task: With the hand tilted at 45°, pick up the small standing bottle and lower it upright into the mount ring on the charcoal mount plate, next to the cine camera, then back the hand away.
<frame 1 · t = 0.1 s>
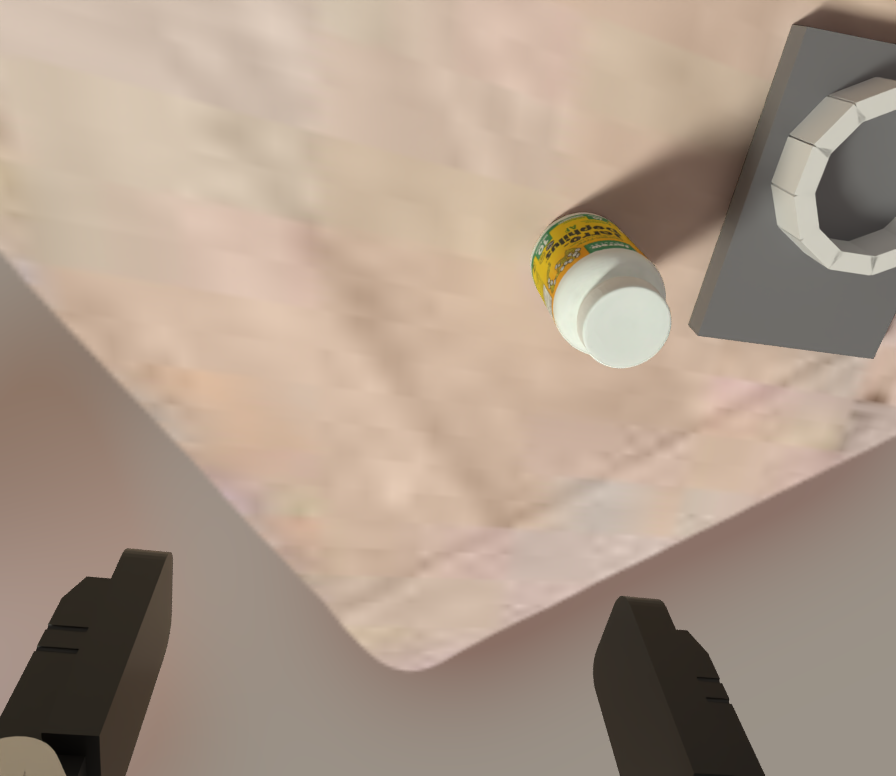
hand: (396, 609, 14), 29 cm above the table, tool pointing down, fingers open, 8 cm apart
mount plate: (844, 166, 41), on the table
supplement bottle: (576, 256, 42), on the table
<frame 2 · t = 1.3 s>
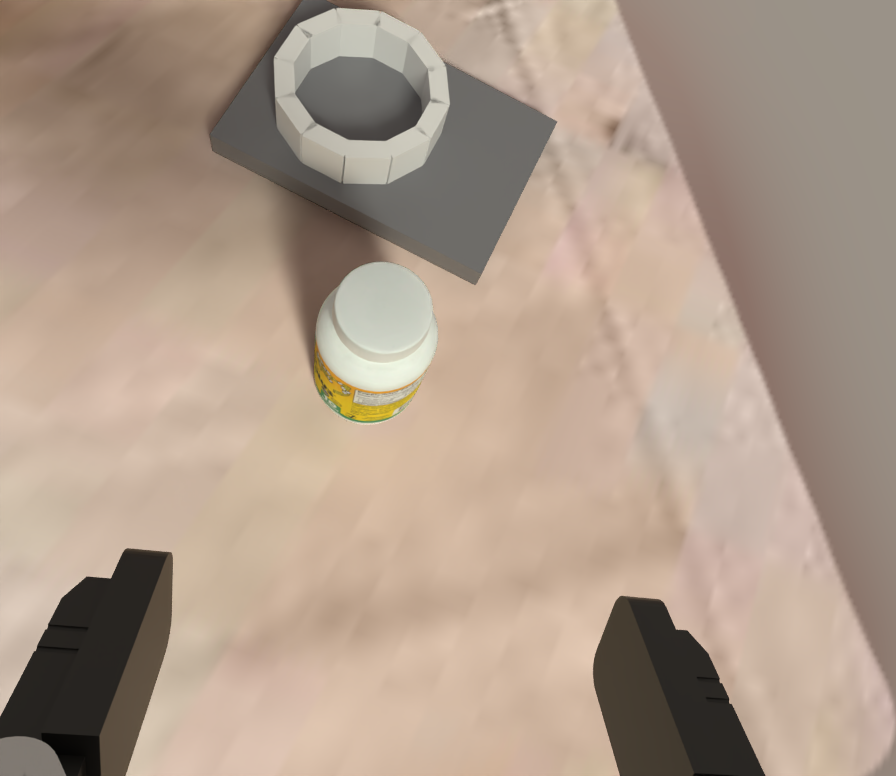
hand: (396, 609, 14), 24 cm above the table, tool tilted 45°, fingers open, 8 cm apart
mount plate: (357, 127, 43), on the table
supplement bottle: (365, 377, 40), on the table
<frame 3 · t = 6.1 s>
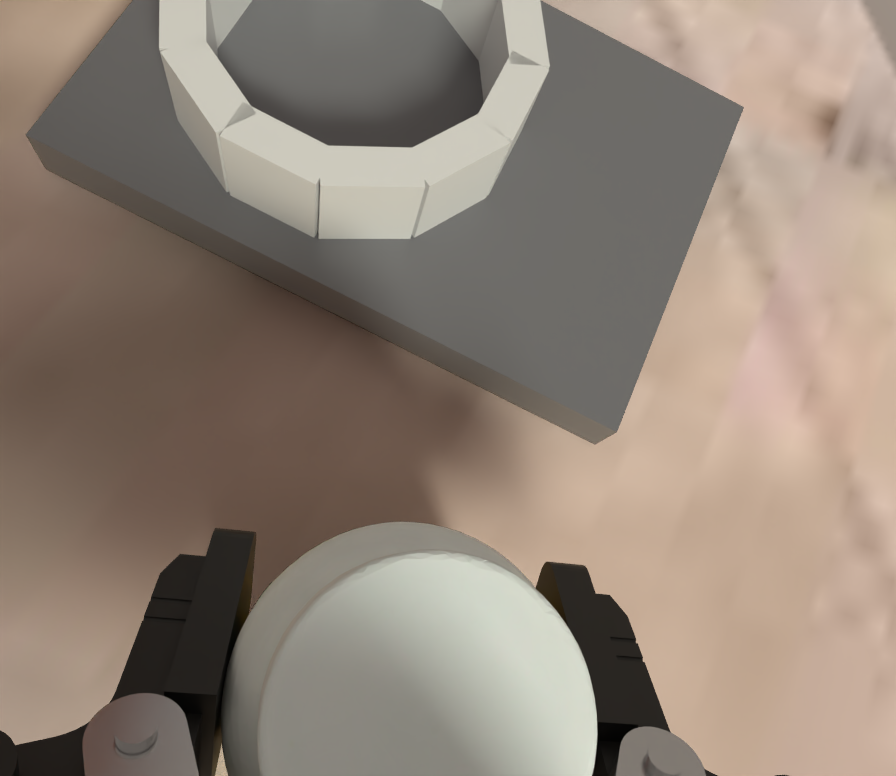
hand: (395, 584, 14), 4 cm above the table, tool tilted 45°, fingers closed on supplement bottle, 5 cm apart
mount plate: (351, 119, 22), on the table
supplement bottle: (367, 668, 18), on the table, touching gripper
when the fingers open (7 cm above the table, at t = 13.2 s): supplement bottle drops 1 cm, resting on mount plate.
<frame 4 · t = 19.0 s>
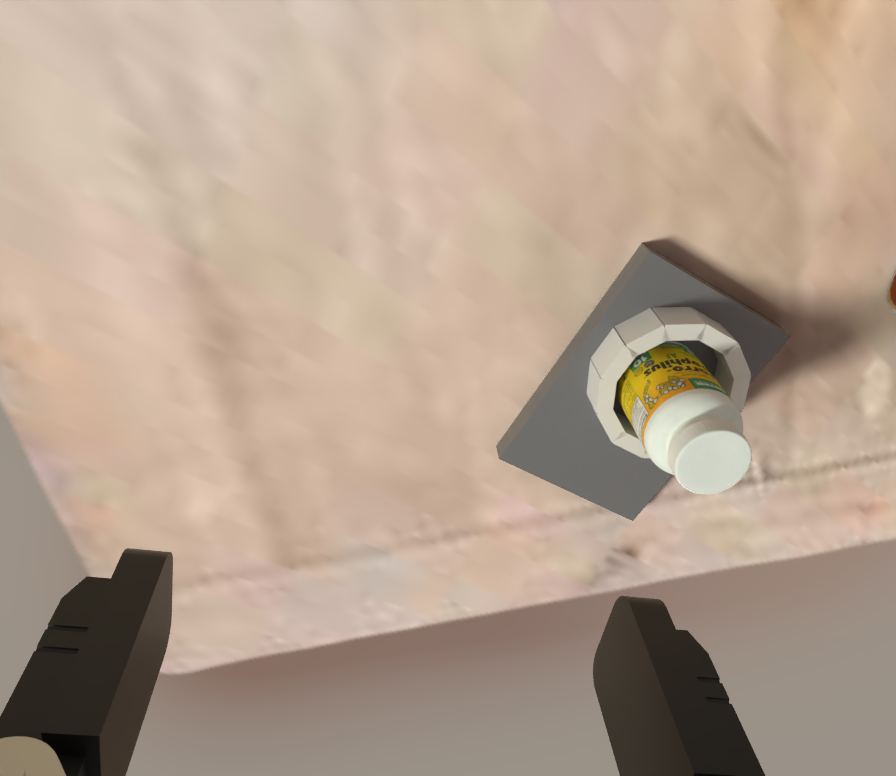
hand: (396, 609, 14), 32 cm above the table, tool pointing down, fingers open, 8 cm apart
mount plate: (652, 363, 48), on the table
supplement bottle: (654, 374, 47), point 1 cm above the table, touching mount plate
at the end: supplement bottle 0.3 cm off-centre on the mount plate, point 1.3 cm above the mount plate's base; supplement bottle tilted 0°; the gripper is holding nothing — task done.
